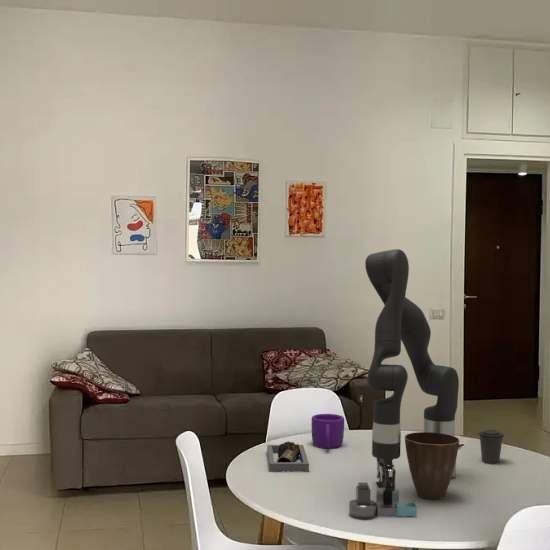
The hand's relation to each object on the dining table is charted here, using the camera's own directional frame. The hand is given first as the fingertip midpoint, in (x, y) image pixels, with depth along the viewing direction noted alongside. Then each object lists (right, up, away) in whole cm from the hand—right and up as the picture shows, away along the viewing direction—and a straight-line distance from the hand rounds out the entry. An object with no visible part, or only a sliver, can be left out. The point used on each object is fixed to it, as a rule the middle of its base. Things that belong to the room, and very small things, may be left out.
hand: (385, 500), depth 205 cm
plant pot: (+14, -1, +8) cm, 16 cm away
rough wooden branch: (-26, 0, +39) cm, 47 cm away
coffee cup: (+40, 0, +43) cm, 59 cm away
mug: (-11, +1, +59) cm, 60 cm away
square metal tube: (0, -1, 0) cm, 1 cm away
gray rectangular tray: (-26, +1, +40) cm, 47 cm away
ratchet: (-2, -1, -9) cm, 9 cm away
